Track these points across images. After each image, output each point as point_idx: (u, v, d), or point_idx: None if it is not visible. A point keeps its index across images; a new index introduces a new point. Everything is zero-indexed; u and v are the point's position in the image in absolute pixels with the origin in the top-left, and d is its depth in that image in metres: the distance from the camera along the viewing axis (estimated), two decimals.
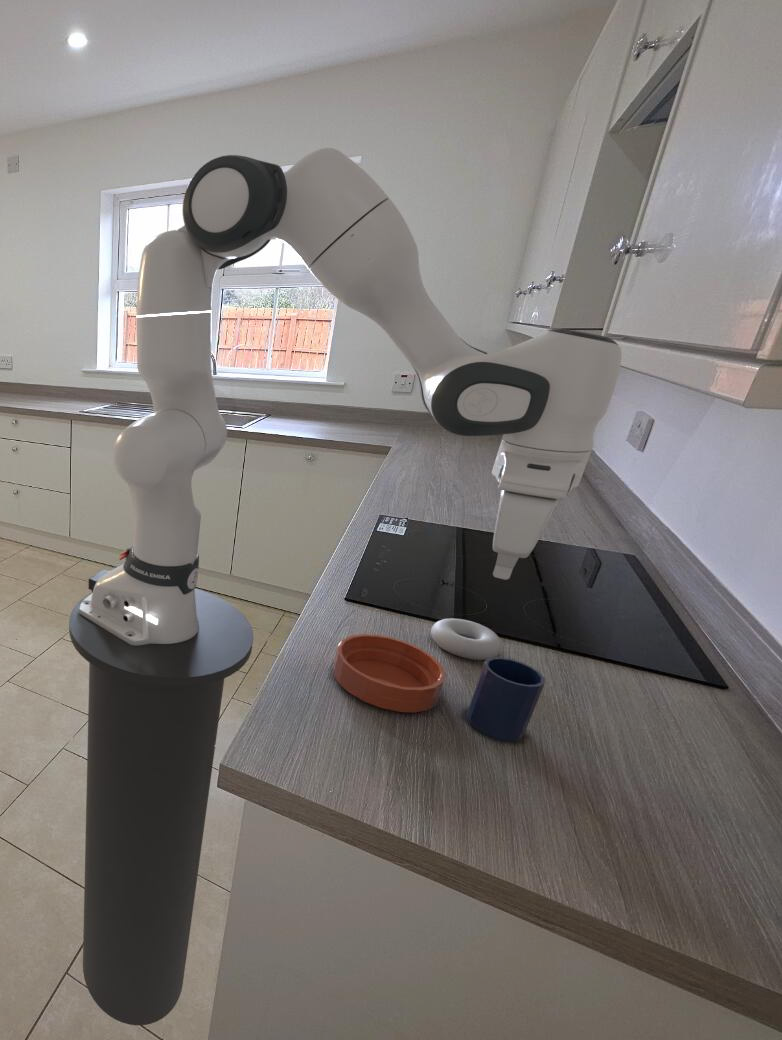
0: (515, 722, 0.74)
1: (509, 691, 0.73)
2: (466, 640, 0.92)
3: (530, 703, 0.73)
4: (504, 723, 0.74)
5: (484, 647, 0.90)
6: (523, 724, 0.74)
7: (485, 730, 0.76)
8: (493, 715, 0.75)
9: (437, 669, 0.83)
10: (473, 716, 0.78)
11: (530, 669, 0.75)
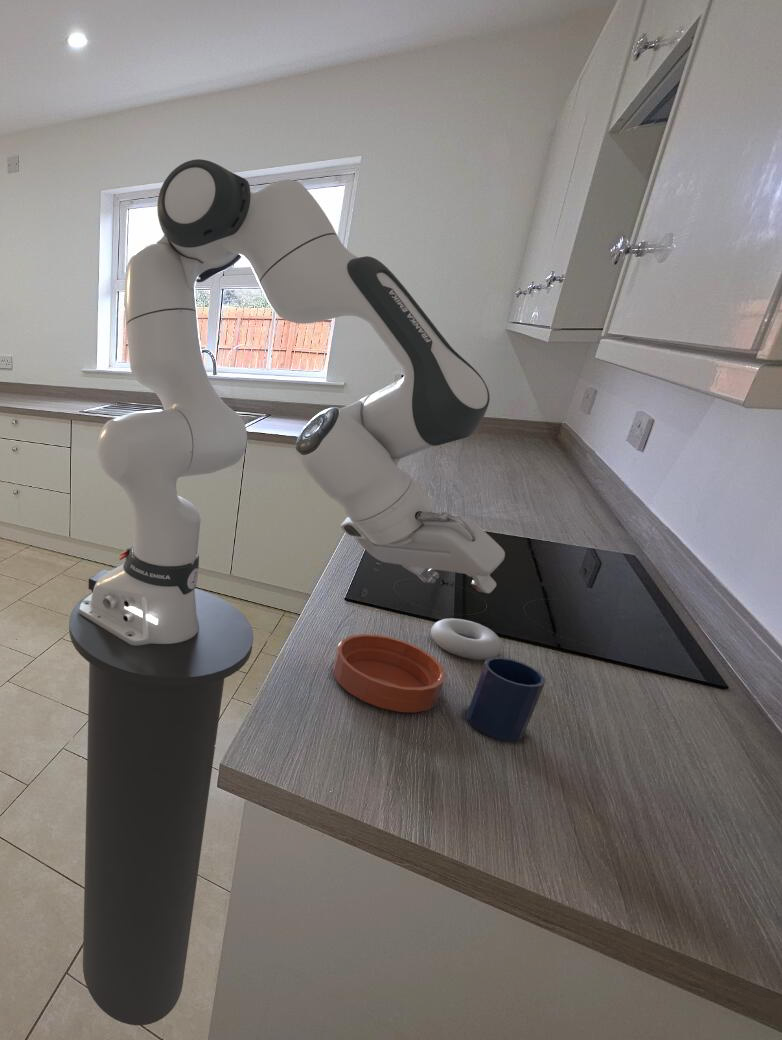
0: (515, 722, 0.74)
1: (509, 691, 0.73)
2: (466, 640, 0.92)
3: (530, 703, 0.73)
4: (504, 723, 0.74)
5: (484, 647, 0.90)
6: (523, 724, 0.74)
7: (485, 730, 0.76)
8: (493, 715, 0.75)
9: (437, 669, 0.83)
10: (473, 716, 0.78)
11: (530, 669, 0.75)
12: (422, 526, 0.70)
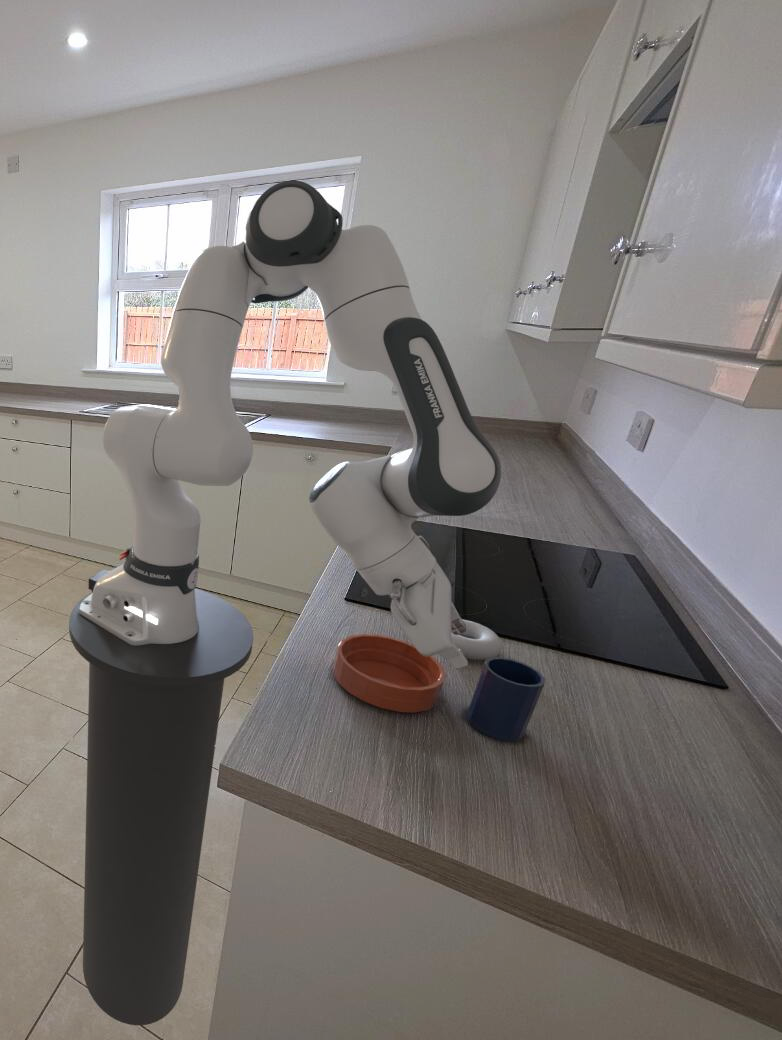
0: (515, 722, 0.74)
1: (509, 691, 0.73)
2: (466, 640, 0.92)
3: (530, 703, 0.73)
4: (504, 723, 0.74)
5: (484, 647, 0.90)
6: (523, 724, 0.74)
7: (485, 730, 0.76)
8: (493, 715, 0.75)
9: (437, 669, 0.83)
10: (473, 716, 0.78)
11: (530, 669, 0.75)
12: None
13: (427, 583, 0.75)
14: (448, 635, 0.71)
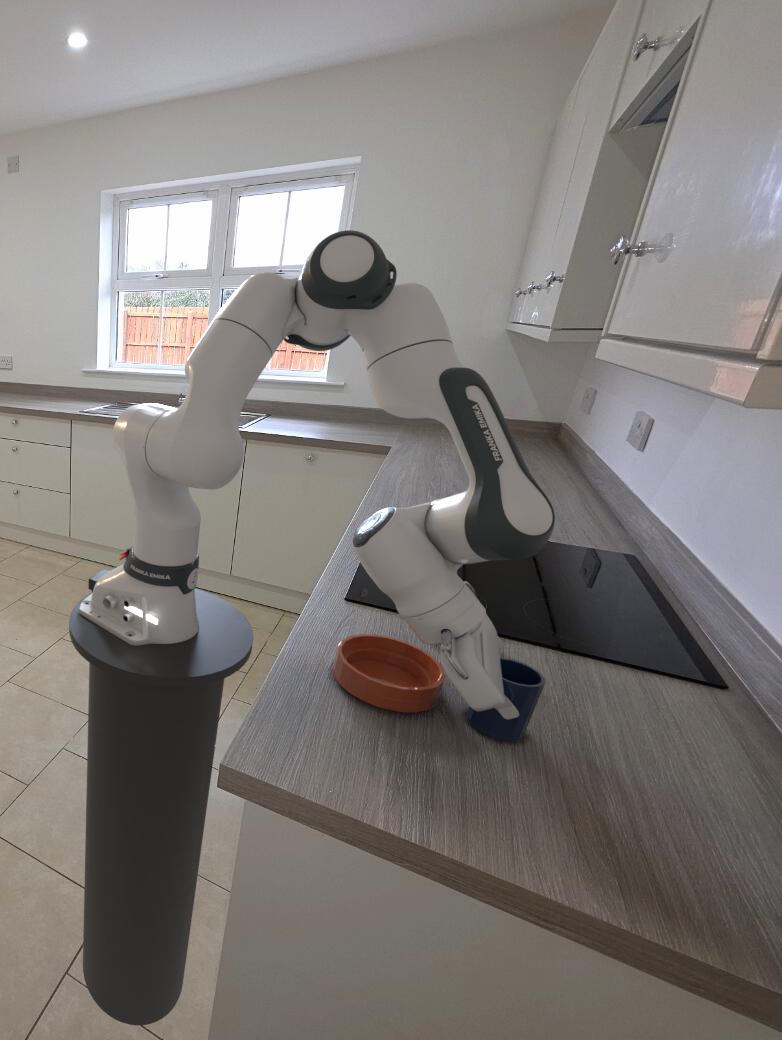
0: (516, 722, 0.74)
1: (509, 691, 0.73)
2: None
3: (530, 703, 0.73)
4: (504, 723, 0.74)
5: None
6: (523, 724, 0.74)
7: (485, 730, 0.76)
8: (493, 715, 0.75)
9: (437, 669, 0.83)
10: (473, 716, 0.78)
11: (531, 669, 0.75)
12: None
13: (477, 634, 0.74)
14: (501, 690, 0.69)
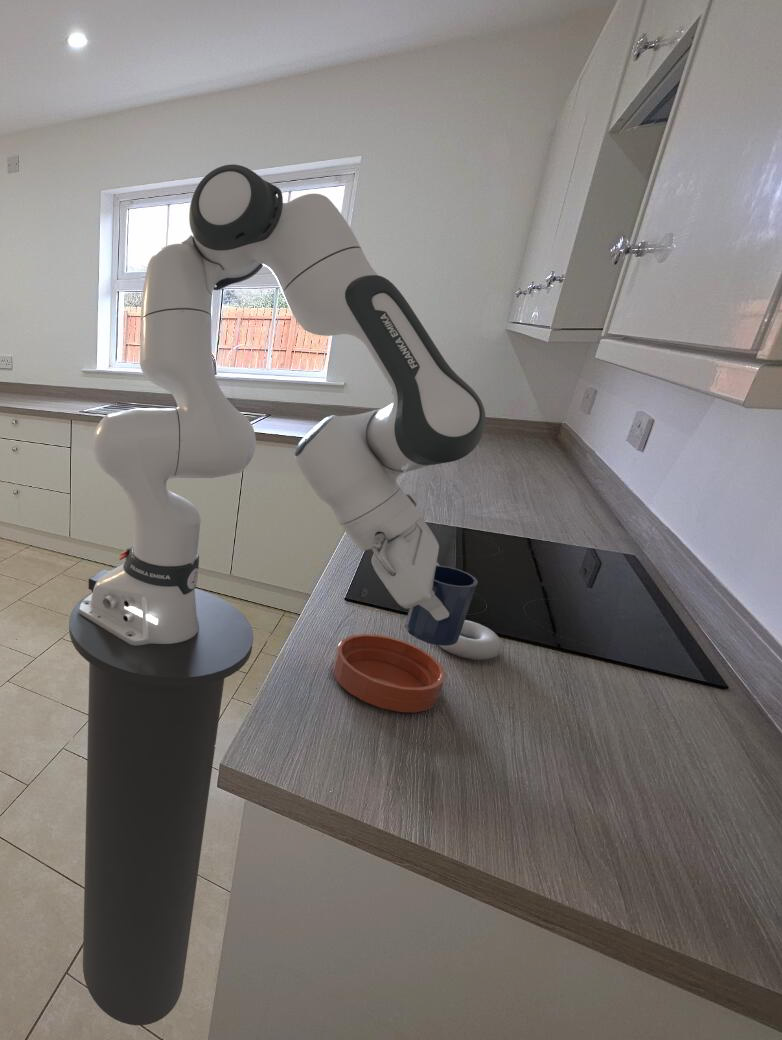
0: (448, 625, 0.75)
1: (441, 593, 0.74)
2: (466, 640, 0.92)
3: (462, 605, 0.74)
4: (437, 626, 0.75)
5: (484, 647, 0.90)
6: (456, 627, 0.75)
7: (420, 635, 0.77)
8: (427, 619, 0.76)
9: (437, 669, 0.83)
10: (410, 623, 0.79)
11: (466, 575, 0.76)
12: None
13: (410, 537, 0.75)
14: (428, 587, 0.70)
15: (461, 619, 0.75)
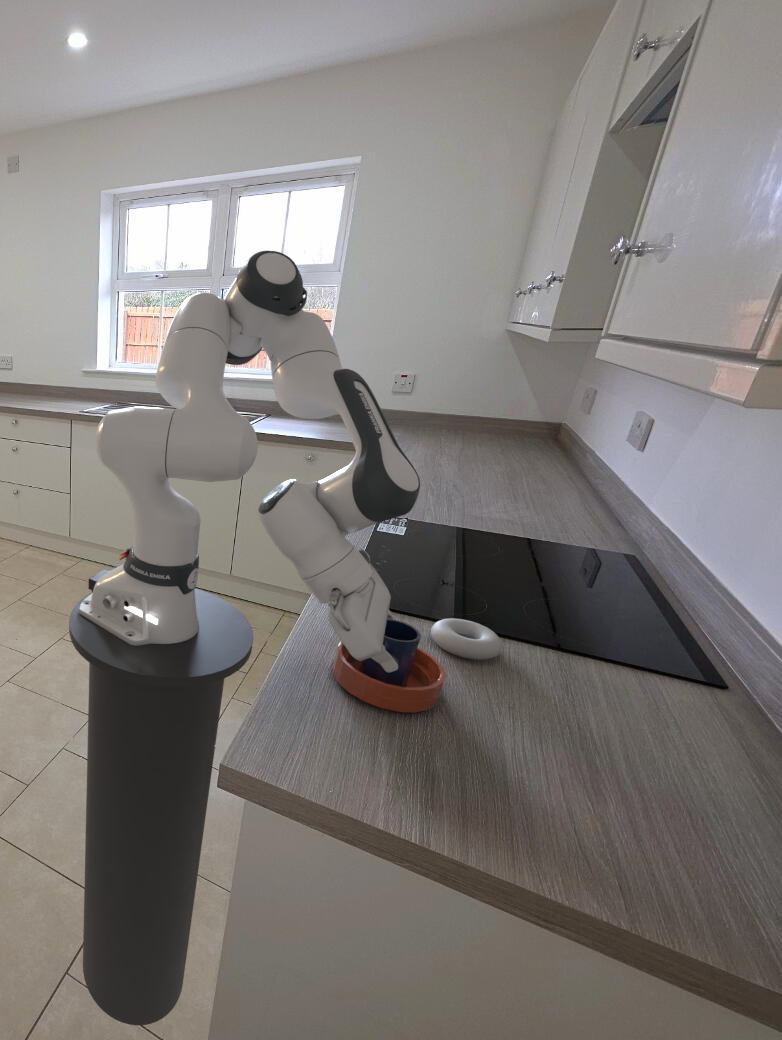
0: (396, 675, 0.82)
1: (389, 647, 0.81)
2: (466, 640, 0.92)
3: (408, 657, 0.81)
4: (387, 676, 0.83)
5: (484, 647, 0.90)
6: (403, 677, 0.82)
7: None
8: (378, 670, 0.83)
9: (437, 669, 0.83)
10: (363, 672, 0.86)
11: (410, 628, 0.84)
12: None
13: (363, 593, 0.81)
14: (379, 641, 0.77)
15: (407, 669, 0.82)
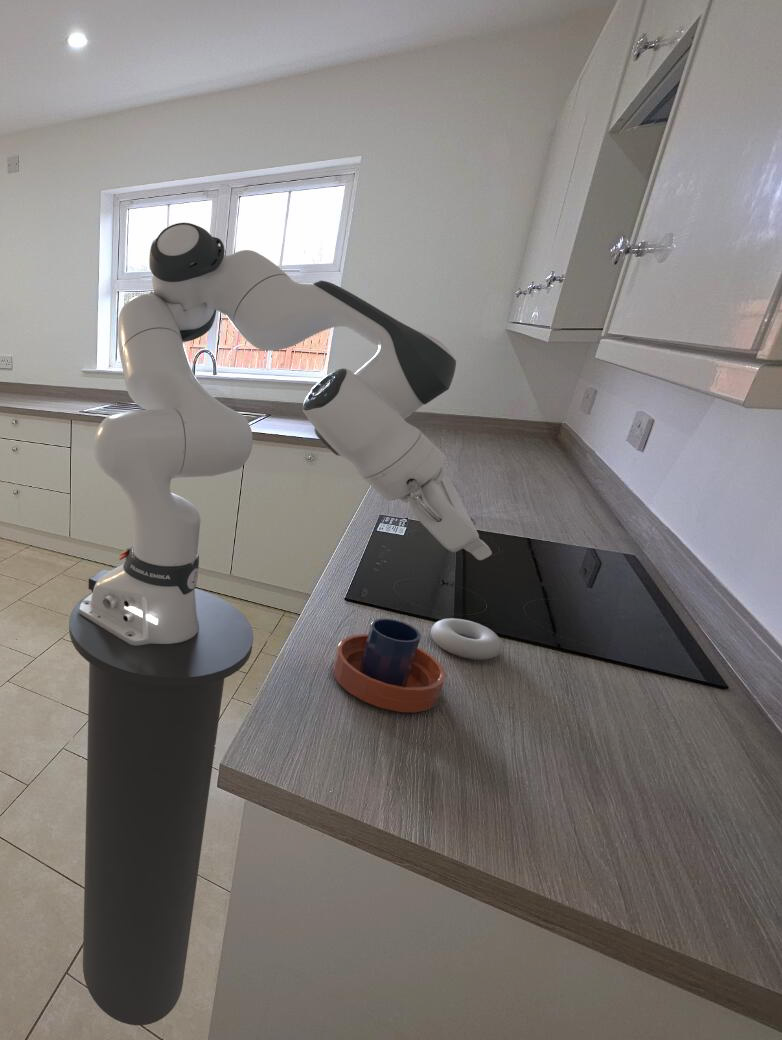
0: (396, 675, 0.82)
1: (389, 647, 0.81)
2: (466, 640, 0.92)
3: (408, 657, 0.81)
4: (387, 676, 0.83)
5: (484, 647, 0.90)
6: (403, 677, 0.82)
7: None
8: (378, 670, 0.83)
9: (437, 669, 0.83)
10: (363, 672, 0.86)
11: (410, 628, 0.84)
12: None
13: (440, 479, 0.73)
14: (473, 526, 0.69)
15: (407, 669, 0.82)
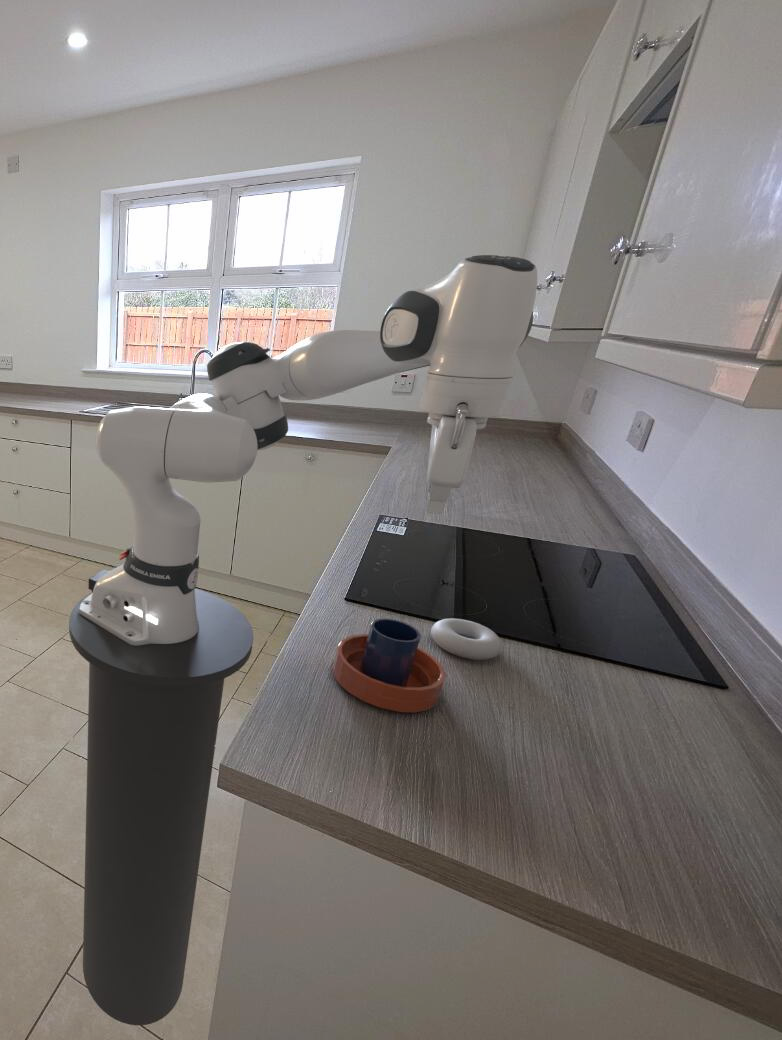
0: (396, 675, 0.82)
1: (389, 647, 0.81)
2: (466, 640, 0.92)
3: (408, 657, 0.81)
4: (387, 676, 0.83)
5: (484, 647, 0.90)
6: (403, 677, 0.82)
7: None
8: (378, 670, 0.83)
9: (437, 669, 0.83)
10: (363, 672, 0.86)
11: (410, 628, 0.84)
12: (453, 417, 0.68)
13: (478, 427, 0.69)
14: None
15: (407, 669, 0.82)
